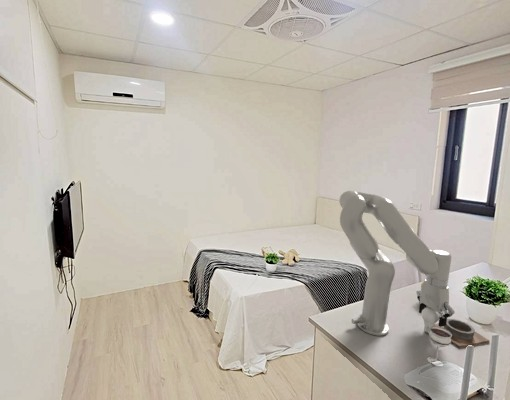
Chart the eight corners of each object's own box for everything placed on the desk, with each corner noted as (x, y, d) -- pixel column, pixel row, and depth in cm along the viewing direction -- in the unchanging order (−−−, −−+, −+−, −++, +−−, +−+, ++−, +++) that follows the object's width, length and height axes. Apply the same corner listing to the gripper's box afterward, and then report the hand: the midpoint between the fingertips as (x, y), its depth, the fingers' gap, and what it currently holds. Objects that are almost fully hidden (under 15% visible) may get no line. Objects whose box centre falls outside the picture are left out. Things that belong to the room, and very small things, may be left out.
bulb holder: (458, 348, 113) (460, 338, 113) (428, 326, 126) (430, 318, 126) (489, 342, 118) (491, 333, 117) (457, 322, 131) (458, 314, 130)
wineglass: (439, 356, 108) (445, 326, 106) (450, 369, 101) (456, 338, 99) (421, 354, 109) (426, 325, 106) (430, 367, 102) (436, 337, 100)
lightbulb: (438, 338, 119) (443, 313, 117) (421, 335, 120) (425, 311, 118) (432, 329, 125) (436, 305, 123) (416, 326, 126) (420, 303, 124)
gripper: (412, 272, 126) (408, 309, 129) (448, 291, 109) (443, 333, 112) (426, 271, 128) (422, 307, 131) (464, 289, 111) (458, 330, 114)
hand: (431, 319), depth 121 cm, fingers open, 9 cm apart
